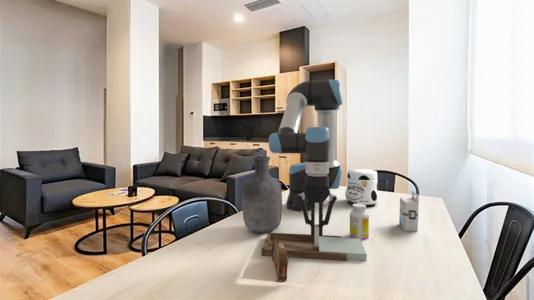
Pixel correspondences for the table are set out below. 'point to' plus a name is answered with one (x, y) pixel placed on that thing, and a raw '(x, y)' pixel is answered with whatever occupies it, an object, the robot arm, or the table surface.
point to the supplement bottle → (359, 222)
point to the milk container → (362, 187)
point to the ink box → (409, 212)
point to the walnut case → (300, 247)
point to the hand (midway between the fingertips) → (316, 244)
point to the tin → (280, 259)
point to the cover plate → (343, 247)
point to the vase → (262, 199)
